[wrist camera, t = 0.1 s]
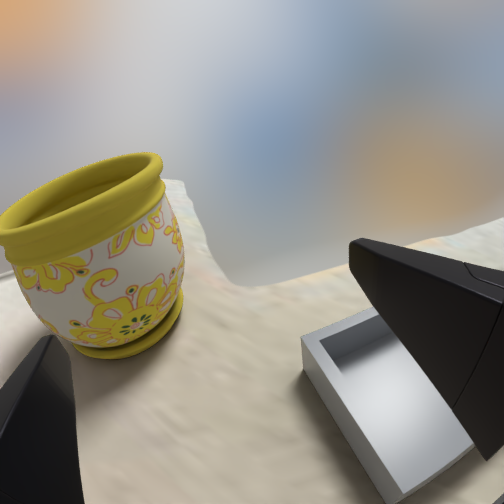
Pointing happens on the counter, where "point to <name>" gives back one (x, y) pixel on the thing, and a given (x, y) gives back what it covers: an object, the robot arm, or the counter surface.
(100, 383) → the counter surface
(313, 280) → the counter surface
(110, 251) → the flowerpot
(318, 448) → the counter surface
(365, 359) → the tray
